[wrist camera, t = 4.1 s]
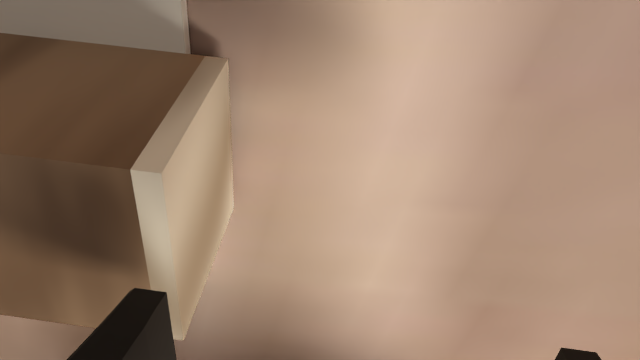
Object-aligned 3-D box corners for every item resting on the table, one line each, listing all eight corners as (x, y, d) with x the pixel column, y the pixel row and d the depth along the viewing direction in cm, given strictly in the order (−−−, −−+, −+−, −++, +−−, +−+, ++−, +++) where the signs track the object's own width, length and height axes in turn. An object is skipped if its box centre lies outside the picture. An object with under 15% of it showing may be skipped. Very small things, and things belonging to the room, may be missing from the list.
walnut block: (183, 340, 14) (-171, 289, 14) (233, 207, 18) (-45, 172, 18) (162, 173, 11) (-287, 117, 11) (228, 58, 15) (-106, 20, 15)
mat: (208, 272, 20) (205, 280, 20) (-62, 235, 21) (-69, 243, 20) (178, -98, 13) (172, -94, 13) (-236, -139, 13) (-252, -136, 13)
